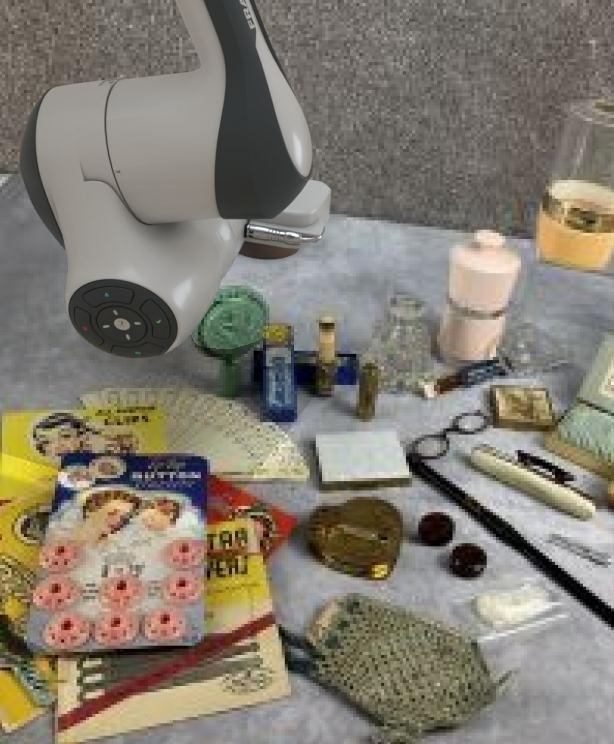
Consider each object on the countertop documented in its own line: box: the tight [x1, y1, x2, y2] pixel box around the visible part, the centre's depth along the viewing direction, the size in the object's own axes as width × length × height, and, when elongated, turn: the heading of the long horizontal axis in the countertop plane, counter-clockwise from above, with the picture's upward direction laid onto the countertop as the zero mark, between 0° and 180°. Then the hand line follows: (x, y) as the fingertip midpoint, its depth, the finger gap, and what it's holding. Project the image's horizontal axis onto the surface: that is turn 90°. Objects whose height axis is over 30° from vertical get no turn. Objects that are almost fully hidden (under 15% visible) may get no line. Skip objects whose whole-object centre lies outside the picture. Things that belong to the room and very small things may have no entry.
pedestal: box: [238, 241, 300, 260], centre depth 103 cm, size 8×8×4 cm
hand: (230, 161), depth 86 cm, fingers open, 8 cm apart
